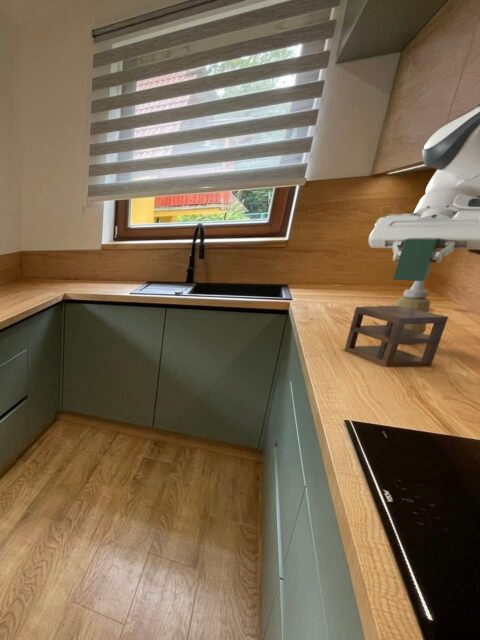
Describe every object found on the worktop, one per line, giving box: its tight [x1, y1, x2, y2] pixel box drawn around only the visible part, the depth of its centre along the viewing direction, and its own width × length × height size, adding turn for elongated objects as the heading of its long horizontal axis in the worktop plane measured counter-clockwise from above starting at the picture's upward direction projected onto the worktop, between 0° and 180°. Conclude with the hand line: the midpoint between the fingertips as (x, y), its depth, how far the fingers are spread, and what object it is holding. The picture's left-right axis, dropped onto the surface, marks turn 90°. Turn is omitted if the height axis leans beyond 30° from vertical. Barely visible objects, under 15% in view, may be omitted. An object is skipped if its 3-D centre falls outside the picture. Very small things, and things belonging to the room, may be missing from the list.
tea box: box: [392, 238, 440, 282], centre depth 98 cm, size 5×5×9 cm
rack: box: [344, 305, 449, 368], centre depth 107 cm, size 10×14×12 cm
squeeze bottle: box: [385, 280, 431, 334], centre depth 119 cm, size 8×8×18 cm
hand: (415, 260), depth 98 cm, fingers closed on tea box, 5 cm apart
